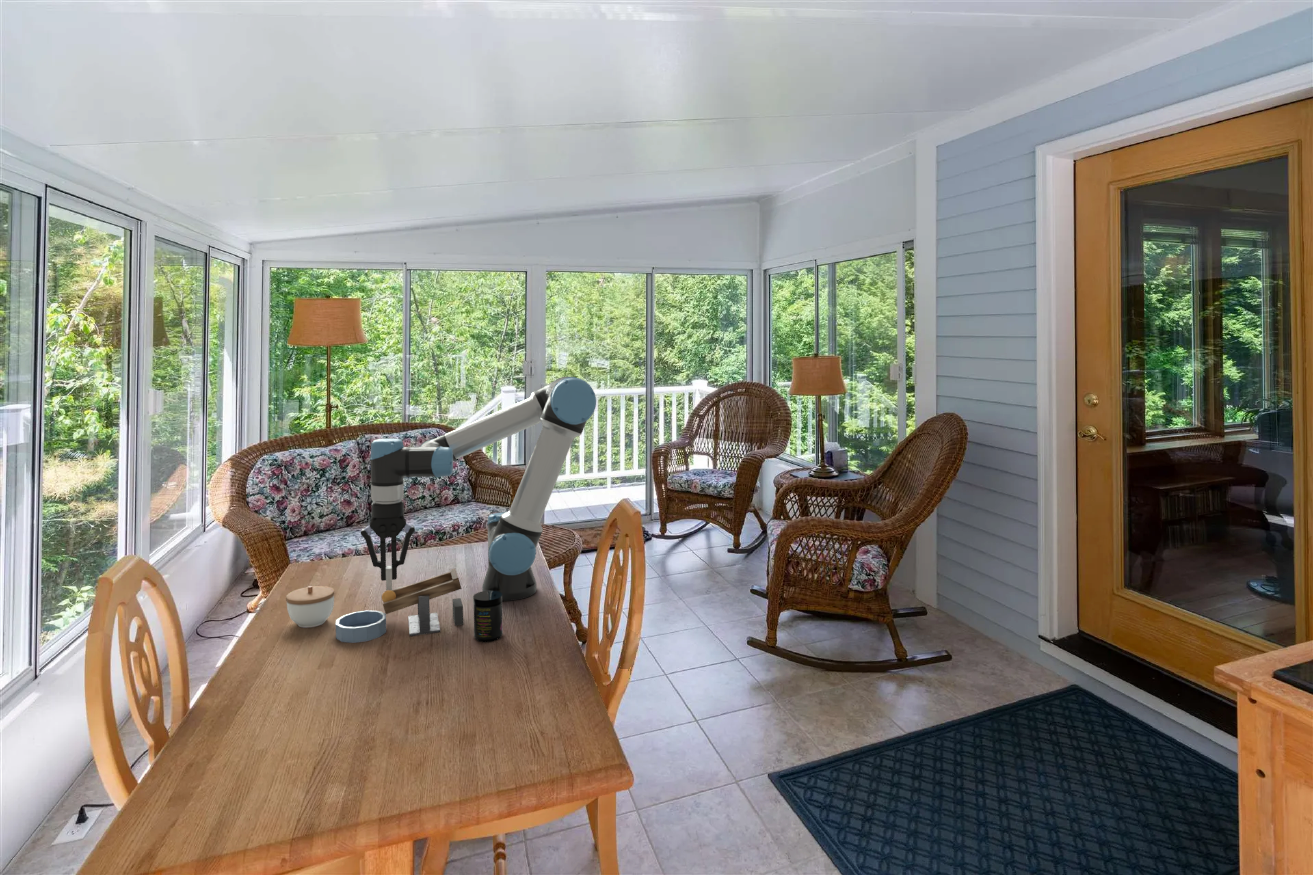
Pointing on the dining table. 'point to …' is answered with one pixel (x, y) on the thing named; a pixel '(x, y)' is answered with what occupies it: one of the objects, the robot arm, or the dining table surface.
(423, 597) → the pivot stand
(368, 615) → the bowl
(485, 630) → the supplement container
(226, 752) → the dining table surface
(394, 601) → the lever
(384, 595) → the ball
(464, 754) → the dining table surface
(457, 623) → the block
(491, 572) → the robot arm
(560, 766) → the dining table surface
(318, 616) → the lidded jar
